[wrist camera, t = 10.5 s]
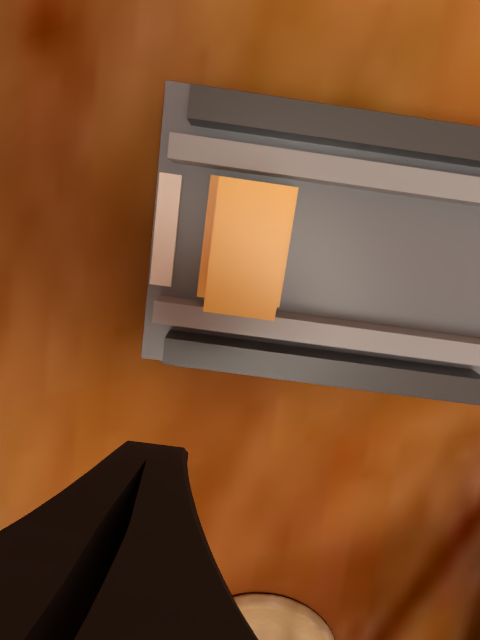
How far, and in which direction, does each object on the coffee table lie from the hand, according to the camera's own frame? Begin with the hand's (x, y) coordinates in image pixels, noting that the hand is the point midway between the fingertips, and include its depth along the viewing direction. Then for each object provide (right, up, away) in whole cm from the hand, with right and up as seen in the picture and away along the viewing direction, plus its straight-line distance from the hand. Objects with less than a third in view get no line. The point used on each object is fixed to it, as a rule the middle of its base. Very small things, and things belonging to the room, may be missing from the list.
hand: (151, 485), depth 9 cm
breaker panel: (+6, +6, +8) cm, 12 cm away
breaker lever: (+2, +6, +6) cm, 9 cm away
